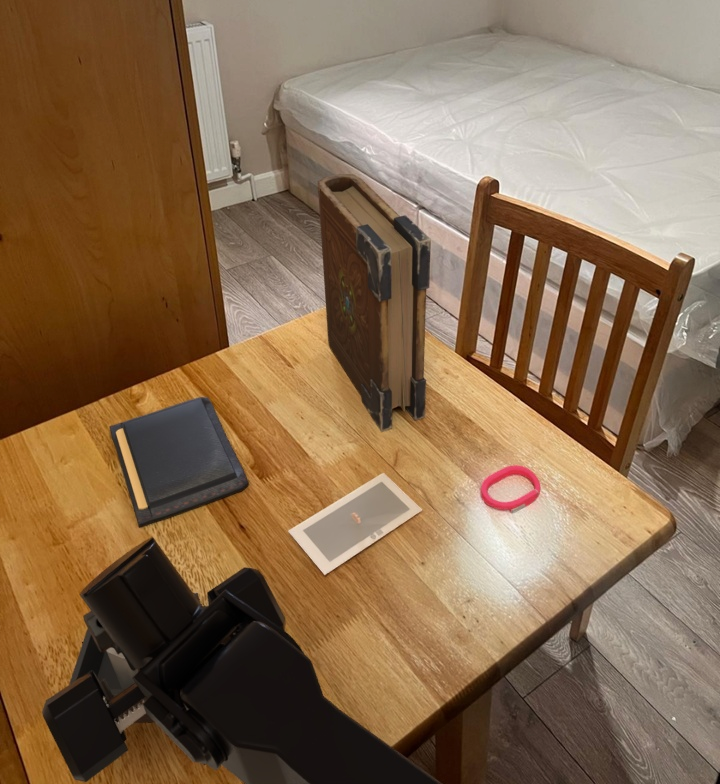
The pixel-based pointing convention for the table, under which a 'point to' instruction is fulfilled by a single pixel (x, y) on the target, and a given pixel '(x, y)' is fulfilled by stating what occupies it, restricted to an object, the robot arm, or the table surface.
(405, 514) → the white grey flat rectangle
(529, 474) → the fitness band
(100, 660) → the open storage box
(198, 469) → the wallet
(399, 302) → the decorative book
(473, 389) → the table surface
